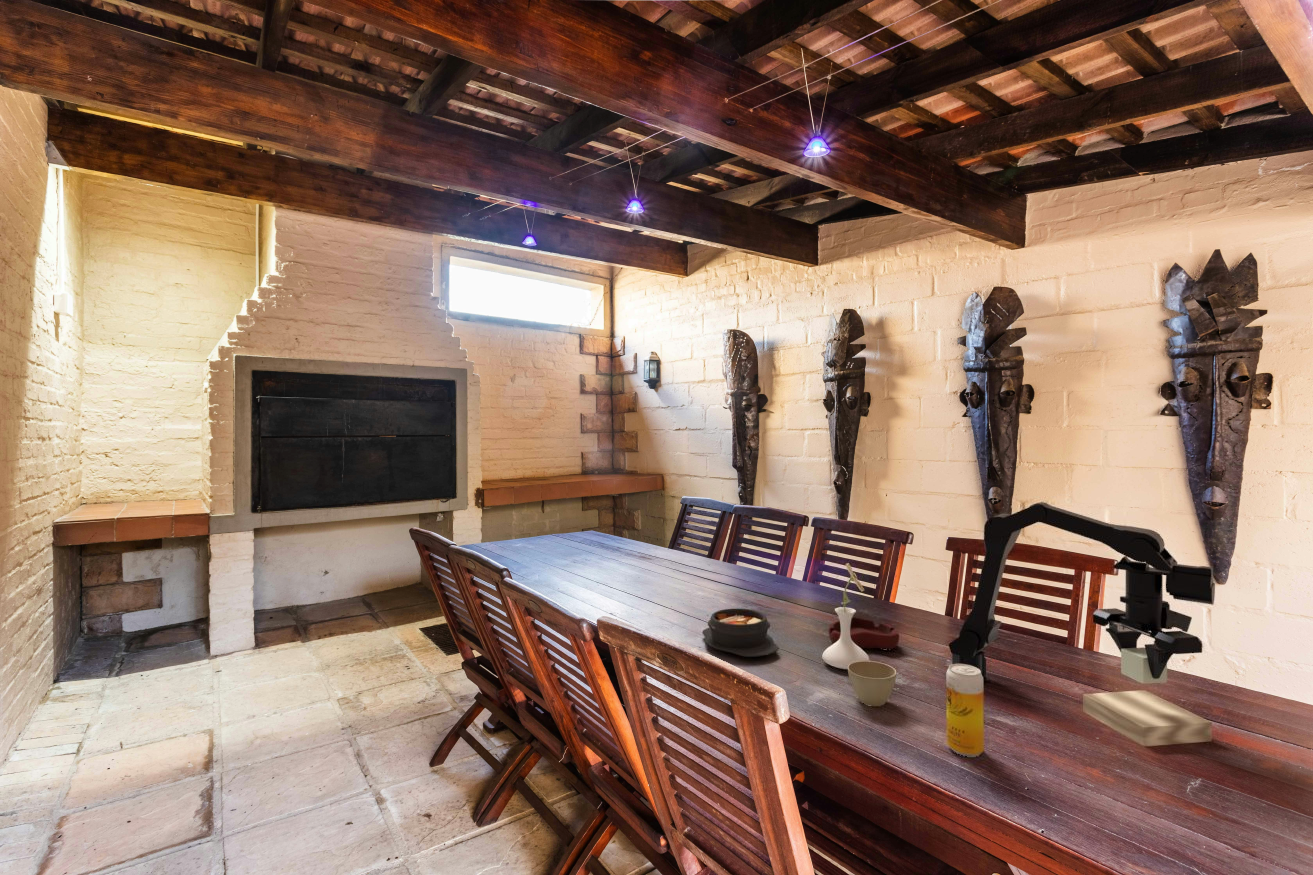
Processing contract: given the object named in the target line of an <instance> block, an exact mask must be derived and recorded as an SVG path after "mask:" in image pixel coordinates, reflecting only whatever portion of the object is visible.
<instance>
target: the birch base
mask: <svg viewBox="0 0 1313 875" xmlns="http://www.w3.org/2000/svg"><path fill="white" fill-rule="evenodd" d="M1083 712H1084V713H1085V714H1087V715H1088V716H1090V717H1092V718H1094V719H1095V720H1097V721H1099V722H1101V723H1103V725H1106V726H1107V727H1109V728H1111V729H1113V730H1115V731H1117V732H1118V733H1120V734H1122V735H1123V736H1125V737H1127V738H1128V739H1130V740H1132V741H1133V742H1135V743H1137V744H1138V745H1140V746H1142V747H1154V746H1168V745H1179V744H1192V743H1204V742H1205V743H1206V742H1212V738H1213V736H1212V735H1213V734H1212V728H1213V724H1212V721H1210V720H1207V719H1206V718H1204V717H1201V716H1199V715H1197V714H1195V713H1193V712H1191V711H1189V710H1187V709H1184V708H1182V707H1180V706H1179V705H1177V704H1175V703H1172V702H1170V701H1168V700H1166V699H1164V698H1161V697H1159V696H1157V695H1156V694H1153V693H1151V692H1149V691H1147V690H1145V689H1143V690H1142V689H1140V690H1128V691H1127V690H1126V691H1113V692H1099V693H1098V692H1097V693H1095V692H1094V693H1086V694H1085V693H1084V694H1083V695H1082V713H1083Z"/></svg>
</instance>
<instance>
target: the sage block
mask: <svg viewBox="0 0 1313 875" xmlns="http://www.w3.org/2000/svg"><path fill="white" fill-rule="evenodd" d="M1120 674H1121V675H1124V676H1126V677H1128V678H1130V679H1132V680H1134V681H1137V682H1138V683H1141V684H1143V685H1146V684H1162V683H1168V663H1167V664H1166V666H1165V668H1164V670H1163V672H1162V674H1161V676H1160V678H1159V679H1154V678H1153V677H1152V674H1151V671H1150V667H1149V663H1148V658H1147V654H1146V650H1145V646H1144V647H1137V648H1125V649H1121V652H1120Z"/></svg>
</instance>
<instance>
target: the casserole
mask: <svg viewBox="0 0 1313 875" xmlns="http://www.w3.org/2000/svg"><path fill="white" fill-rule="evenodd" d="M707 626H708V627H707V628H705V629H703V630H702V635H703V636H704V642H705V644H707V645H708V646H709V647H711V648H713V649H715V650H719V651H723V652H727V653H730V652H731V653H732V654H734V655H736V656H740V657H744V658H745V657H746V658H751V657H752V658H753V657H762V656H767V655H771V654H773V653H776V652H777V651H779V648H780V647H779V646H778V645H777V644H776V643H775V642H774V639H773V637H772V636H771V635H770V634H768V631H769V630H770V628H771V623H770V622H769V621H768V618H767V616H766V615H765V614H764V613H763V612H760V611H758V610H754V609H747V608H727V609H726V608H725V609H721V610H717V611H715V612H713V613H712V614H711V616H710V618H709V620H708V621H707Z"/></svg>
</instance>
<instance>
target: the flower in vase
mask: <svg viewBox="0 0 1313 875" xmlns="http://www.w3.org/2000/svg"><path fill="white" fill-rule="evenodd" d="M845 567H846V569H847V571H848V573H849V575H850V576H849V579H848V581H847V583H846V586H845V587H844V588H845V589H844V590H843V601H841V602H840V605H841V604H842V605H843V607H841V606H839V607H837V608H836V607H835V608H834V612H835V613H836V614H837V616H838V619H839V621H840V625H841V636H840V639H839V640H838V641H837V642H836V643H834V644H833V643H832V644H831V645H830V646H828V647H827V648H826V649H825V650H824V651H823V653H822V654H821V655H822V656H821V657H822V659H823V661H824V662H825V663H826V664H827V665H830V666H832V667H834V668H838V669H843V670H848V665H849V664H851V663H853V662H857V661H871V660H870V657H869V655H868V653H867V652H865V651H864V650H863V648H860V647H858V646H857V645H856V644H855V643H854V642H853V641H852V640H851V636H850V624H851V619H852V617H854V615H855V613H856V612H857V610H856V609H854V608H852V607H846V604H848V603H850V602H852V600H850V599H849V598H848V595H847V592H846V591H847V588H848V586H849V585H850V583H851V582H854V583H855V585H856V587H857V588H858V589H859V590H860V591H861V592H864V591H865V588H864V587H863V585H862V583H861V582H860V581H859V579H858V576H857V575H856V573H855V572H854V571H853V568H852V565H850V563H849V562H847V563H845Z"/></svg>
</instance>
